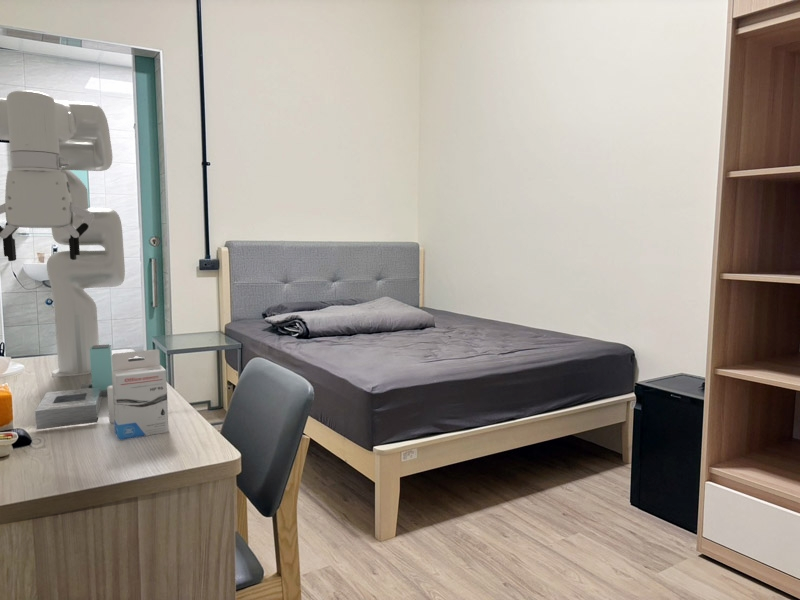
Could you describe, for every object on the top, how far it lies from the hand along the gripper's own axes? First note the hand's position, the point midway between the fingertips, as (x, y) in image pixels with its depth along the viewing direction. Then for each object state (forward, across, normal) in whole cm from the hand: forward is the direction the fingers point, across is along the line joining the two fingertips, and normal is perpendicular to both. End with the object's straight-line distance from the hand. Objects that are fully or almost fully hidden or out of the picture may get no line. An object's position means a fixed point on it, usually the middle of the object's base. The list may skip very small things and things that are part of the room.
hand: (43, 260), depth 107 cm
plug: (+30, -7, -19) cm, 36 cm away
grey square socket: (+31, -7, -19) cm, 37 cm away
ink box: (+32, -15, +11) cm, 37 cm away
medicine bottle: (+31, -14, +3) cm, 35 cm away
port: (+31, -2, -6) cm, 32 cm away
